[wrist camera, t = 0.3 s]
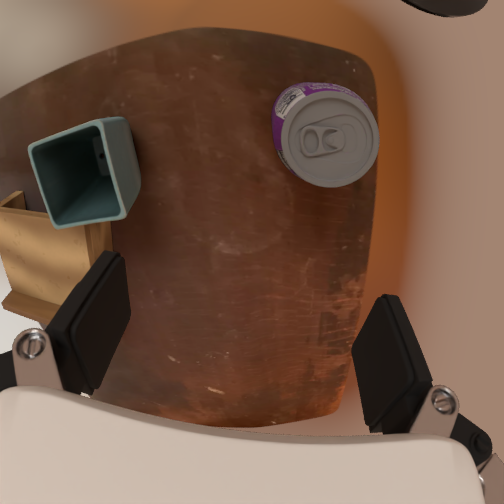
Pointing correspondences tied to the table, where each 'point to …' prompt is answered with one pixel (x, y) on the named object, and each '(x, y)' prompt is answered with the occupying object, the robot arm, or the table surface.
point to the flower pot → (87, 172)
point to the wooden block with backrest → (44, 258)
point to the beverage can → (324, 133)
